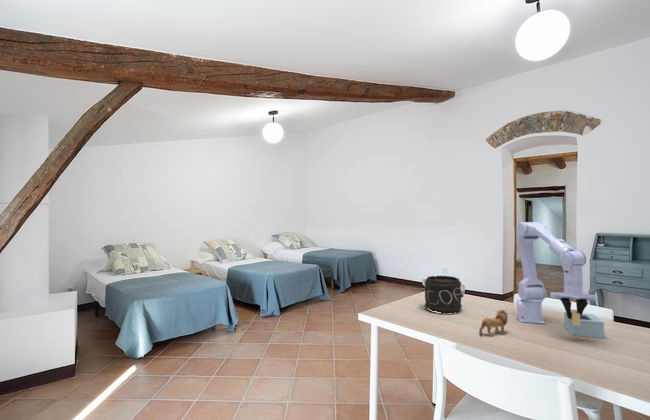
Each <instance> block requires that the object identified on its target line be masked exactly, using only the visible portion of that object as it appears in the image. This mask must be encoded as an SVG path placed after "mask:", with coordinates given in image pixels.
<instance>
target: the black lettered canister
mask: <svg viewBox="0 0 650 420" xmlns="http://www.w3.org/2000/svg"><path fill="white" fill-rule="evenodd" d="M424 285H425V287H424V302H425V303H424V307H426V309H427V308H429V309H430V310H432V311H437V312H441V313H455V312H459V313H460V311H461V310H462V306H463V305H462V298H464V293H462V282H461V281H460V278H458V277H454V276H449V275H436V276H434V275H432V276H427V277H426V279H425V280H424ZM459 310H460V311H459Z"/></svg>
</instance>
